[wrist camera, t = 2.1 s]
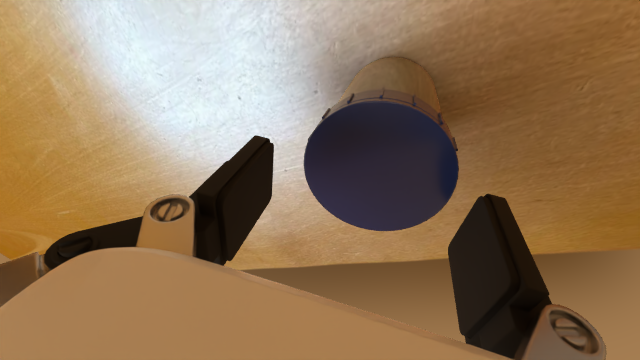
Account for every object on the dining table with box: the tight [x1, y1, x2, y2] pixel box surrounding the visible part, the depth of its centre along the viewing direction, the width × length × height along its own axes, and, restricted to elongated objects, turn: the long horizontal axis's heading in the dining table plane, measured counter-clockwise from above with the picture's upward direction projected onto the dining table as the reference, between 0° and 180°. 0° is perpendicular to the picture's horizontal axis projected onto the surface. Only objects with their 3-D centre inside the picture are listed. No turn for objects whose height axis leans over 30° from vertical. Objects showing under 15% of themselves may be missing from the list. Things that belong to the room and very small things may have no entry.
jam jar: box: [338, 57, 441, 113], centre depth 17 cm, size 6×6×9 cm
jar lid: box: [304, 87, 459, 231], centre depth 13 cm, size 7×7×2 cm
